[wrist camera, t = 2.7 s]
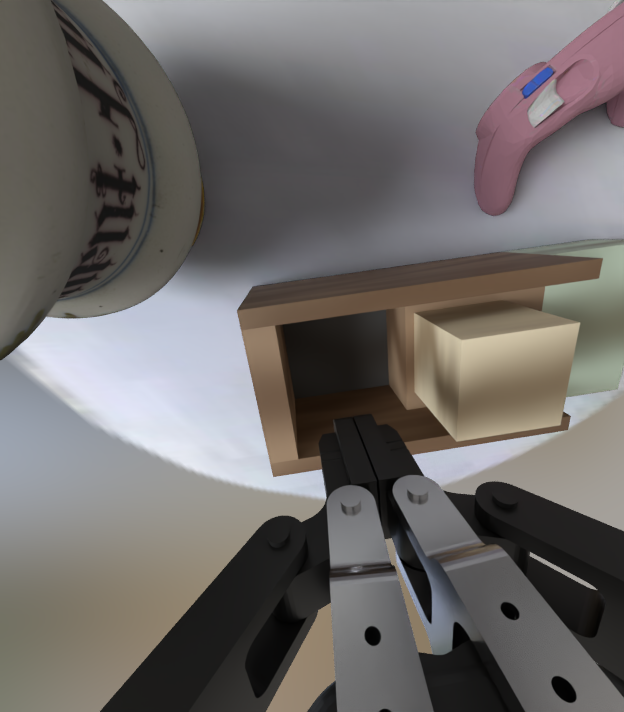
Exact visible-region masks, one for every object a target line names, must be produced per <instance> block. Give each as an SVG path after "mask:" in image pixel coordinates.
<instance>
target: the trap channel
mask: <svg viewBox="0 0 624 712" xmlns="http://www.w3.org/2000/svg"><path fill="white" fill-rule="evenodd" d="M498 300H503V301H507V302H510V303H514V304H517V305H521V306H524V307H528V308H531V309H535V310H538V311H542V312H545V313H549V314H552V315H556V316H559V317H563V318H566V319H570V320H573V321H577V322H580V327H579V332H578V337H577V342H576V347H575V352H574V358H573V363H572V368H571V373H570V378H569V383H568V389H567V394H566V397H571V396H578V395H584V394H591V393H597V392H603V391H610V390H616V389H618V385H619V382H620V378H621V374H622V370H623V366H624V240H582V241H575V242H568V243H561V244H554V245H547V246H540V247H533V248H526V249H518V250H511V251H504V252H497V253H490V254H483V255H476V256H469V257H462V258H455V259H447V260H440V261H433V262H426V263H419V264H412V265H405V266H398V267H391V268H384V269H376V270H369V271H362V272H355V273H348V274H341V275H334V276H327V277H320V278H313V279H305V280H298V281H291V282H284V283H277V284H270V285H263V286H256V287H252V289H251V290H250V292H249V293H248V295H247V296H246V298H245V299H244V301H243V302H242V304H241V305H240V307H239V308H238V310H237V313H238V318H239V322H240V327H241V331H242V336H243V341H244V345H245V350H246V354H247V359H248V363H249V368H250V373H251V377H252V382H253V386H254V391H255V395H256V400H257V405H258V409H259V414H260V418H261V423H262V427H263V432H264V437H265V441H266V446H267V450H268V455H269V459H270V464H271V469H272V473H273V477H276V476H283V475H289V474H295V473H301V472H308V471H314V470H320V469H322V465H321V458H320V452H319V445H318V443H319V441H320V438H321V436H322V434H328V433H334V424H333V419H339V418H345V417H353V416H357V415H364V414H370V413H371V414H372V415H373V417H374V419H375V421H376V423H377V425H383V424H388V425H389V426H391V427H392V428H394V429H395V430H397V432H398V433H399V435H400V437H401V438H402V441H403V442H404V443H405V445H406V447H407V449H408V450H409V452H410V453H411V455H414V454H420V453H427V452H433V451H439V450H445V449H452V448H458V447H464V446H470V445H477V444H483V443H489V442H495V441H502V440H508V439H514V438H521V437H527V436H533V435H539V434H546V433H552V432H558V431H564V430H568V427H569V422H570V417H571V416H570V415H568V414H566V413H565V412H563V414H562V419H561V425H559V426H552V427H546V428H540V429H533V430H527V431H521V432H515V433H508V434H502V435H496V436H489V437H483V438H477V439H471V440H464V441H458V442H456V441H455V439H454V438H453V437H452V436H451V435H450V433H449V432H448V431H447V430H446V429H445V427H444V426H443V425H442V424H441V423H440V422H439V420H438V419H437V418H436V417H435V416H434V414H433V413H432V412H431V411H430V410H429V408H428V407H427V406H426V405H425V404H424V403H423V401H422V400H421V399H420V398H419V397H418V395H417V394H416V393H415V379H414V313H415V312H422V311H429V310H436V309H443V308H450V307H457V306H463V305H470V304H477V303H484V302H491V301H498Z"/></svg>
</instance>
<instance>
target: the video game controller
mask: <svg viewBox="0 0 624 712" xmlns="http://www.w3.org/2000/svg"><path fill="white" fill-rule="evenodd" d="M605 102H607V114H608V117H609V119H610V120H611V123H612V124H613V125H616V126H619V127H624V0H616V1H615V2H614V4H613V5H612V6H611V7H610V8H609V10H608V12H607V14H606V15H605V16H603V17H602V18H601V19H599V20H598V21H597V22H596V23H594V24H593V25H592V26H590V27H589V28H588V29H586V30H585V31H584V32H583V33H581V34H580V35H579V36H578V37H577V38H575V39H574V40H573V41H572V42H571V43H569V44H568V45H567V46H566V47H565V48H564V49H562V50H561V51H560V52H559V53H558V54H557V55H555V56H554V57H553V58H552V59H551V60H550V61H549V62H547V63H546V62H540V63H537V64H535V65H533V66H531V67H530V68H528V69H526V70H525V71H524V72H523V73H521V74H520V75H519V76H518V77H517V78H515V79H514V80H513V81H512V82H511V83H510V84H509V85H508V86H507V87H506V88H505V89H504V90H503V91H502V93H501V94H500V95H499V96H498V97H497V98H496V99H495V100H494V102H493V103H492V104H491V105H490V107H489V108H488V109H487V111H486V112H485V114H484V115H483V117H482V119H481V120H480V122H479V124H478V127H477V129H476V135H477V137H478V140H479V141H478V147H477V153H476V159H475V169H474V188H475V194H476V197H477V201H478V204H479V206H480V208H481V209H482V211H484V212H485V213H487V214H489V215H492V216H496V215H500V214H502V213H504V212H505V211H506V210H507V208H508V207H509V205H510V203H511V202H512V199H513V195H514V192H515V187H516V183H517V179H518V175H519V172H520V169H521V166H522V164H523V162H524V159H525V157H526V155H527V153H528V152H529V151H530V150H531V149H532V148H533V147H534V146H535V145H537V144H538V143H539V142H541V141H542V140H544V139H545V138H547V137H548V136H550V135H551V134H553V133H554V132H556V131H557V130H558V129H560V128H561V127H562V126H564V125H565V124H566V123H568V122H569V121H571V120H572V119H573V118H575V117H576V116H577V115H579V114H581V113H584V112H586V111H588V110H590V109H593V108H595V107H597V106H599V105H601V104H603V103H605Z"/></svg>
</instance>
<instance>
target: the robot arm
mask: <svg viewBox="0 0 624 712" xmlns="http://www.w3.org/2000/svg"><path fill="white" fill-rule="evenodd" d="M333 424H334V433H328V434H322V436H321V438H320V441H319V443H318V445H319V452H320V458H321V465H322V472H323V478H324V485H325V491H326V497H327V498H326V502H325V505H324V507H323V508H322V509H321V510H320V511H319V512H318V513H317V514H316V515H315V516H313V517H311V518H309V519H307V520H305V521H303V522H300V521H299V520H298V519H296V518H294V517H291V516H278V517H275V518H272V519H270V520H268V521H266V522H265V523H264V524H263V525H262V526H261V527H260V528H259V529H258V530H257V531H256V532H255V533H254V534H253V536H252V537H251V538H250V539H249V540H248V541H247V543H246V544H245V545H244V546H243V547H242V548H241V550H240V551H239V552H238V553H237V554H236V555H235V557H234V558H233V559H232V560H231V561H230V562H229V563H228V564H227V566H226V567H225V568H224V569H223V570H222V572H221V573H220V574H219V575H218V576H217V577H216V578H215V579H214V581H213V582H212V583H211V584H210V585H209V586H208V588H207V589H206V590H205V591H204V592H203V593H202V594H201V596H200V597H199V598H198V599H197V600H196V601H195V603H194V604H193V605H192V606H191V607H190V608H189V610H188V611H187V612H186V613H185V614H184V615H183V616H182V617H181V619H180V620H179V621H178V622H177V623H176V624H175V626H174V627H173V628H172V629H171V630H170V631H169V632H168V634H167V635H166V636H165V637H164V638H163V639H162V641H161V642H160V643H159V644H158V645H157V646H156V648H155V649H154V650H153V651H152V652H151V653H150V654H149V656H148V657H147V658H146V659H145V660H144V661H143V662H142V664H141V665H140V666H139V667H138V668H137V669H136V671H135V672H134V673H133V674H132V675H131V676H130V678H129V679H128V680H127V681H126V682H125V683H124V684H123V686H122V687H121V688H120V689H119V690H118V691H117V692H116V694H115V695H114V696H113V697H112V698H111V699H110V701H109V702H108V703H107V704H106V705H105V706H104V707H103V709H102V710H101V711H100V712H266V710H267V708H268V706H269V705H270V703H271V701H272V699H273V697H274V695H275V693H276V691H277V689H278V688H279V686H280V684H281V682H282V680H283V679H284V677H285V674H286V673H287V671H288V669H289V667H290V666H291V663H292V662H293V660H294V658H295V656H296V654H297V652H298V650H299V649H300V647H301V645H302V643H303V641H304V639H305V638H306V636H307V634H308V632H309V630H310V628H311V626H312V625H313V623H314V621H315V619H316V616H317V613H318V610H319V609H321V608H322V607H324V606H326V605H327V604H329V603H331V611H332V629H333V646H334V662H335V679H336V680H335V681H334V682H333V683H332V684H331V685H330V686H328V687H327V688H326V689H325V690H324V691H323V692H322V693H321V694H320V696H319V697H318V698H317V699H316V700H315V702H314V703H313V704H312V706H311V707H310V709H309V710H308V712H624V531H622V530H619V529H617V528H614V527H612V526H610V525H607V524H605V523H602V522H600V521H598V520H595V519H593V518H590V517H588V516H585V515H583V514H581V513H578V512H576V511H573V510H571V509H569V508H566V507H564V506H561V505H559V504H557V503H554V502H552V501H549V500H547V499H545V498H542V497H540V496H537V495H535V494H533V493H530V492H528V491H525V490H523V489H520V488H518V487H516V486H513V485H510V484H507V483H503V482H486V483H483V484H481V485H480V486H479V487H478V488H477V490H476V493H475V495H467V494H456V493H450V492H446V491H443V490H442V489H441V487H440V486H439V485H438V484H437V483H436V482H435V481H433V480H431V479H429V478H427V477H425V476H424V475H423V473H422V472H421V470H420V468H419V467H418V465H417V463H416V462H415V460H414V458H413V457H412V455H411V453H410V452H409V450H408V449H407V447H406V445H405V443H404V442H403V441H402V438H401V437H400V435H399V433H398V432H397V430H395V429H394V428H392V427H391V426H389V425H388V424H383V425H377V423H376V421H375V419H374V417H373V415H372V414H371V413H370V414H364V415H357V416H353V417H345V418H339V419H333ZM388 538H392V540H393V542H394V545H395V548H396V561H397V564H398V567H399V569H400V572H401V574H402V576H403V578H404V581H405V583H406V585H407V588H408V590H409V592H410V595H411V597H412V599H413V601H414V604H415V606H416V608H417V611H418V613H419V615H420V618H421V620H422V622H423V624H424V627H425V629H426V632H427V635H428V638H429V641H430V645H431V649H432V653H433V654H427V653H419V652H418V650H417V647H416V643H415V639H414V635H413V631H412V627H411V624H410V620H409V616H408V612H407V608H406V605H405V601H404V597H403V593H402V590H401V586H400V582H399V578H398V575H397V571H396V569H395V566H394V565H391V561H390V558H389V554H388V550H387V546H386V542H385V539H388ZM530 552H532V553H533V554H535V555H537V556H539V557H541V558H543V559H545V560H547V561H548V562H550V563H552V564H554V565H556V566H558V567H560V568H562V569H563V570H565V571H567V572H569V573H571V574H573V575H575V576H577V577H579V578H580V579H582V580H584V581H586V582H588V583H589V584H591V585H593V586H594V587H595V588H596V589H597V590H594V589H590V588H588V587H586V586H584V585H582V584H580V583H578V582H576V581H575V580H573V579H571V578H569V577H567V576H565V575H563V574H562V573H560V572H558V571H556V570H554V569H552V568H550V567H549V566H547V565H545V564H543V563H541V562H539V561H538V560H536V559H534V558H532V557H530V556H529V555H530ZM594 661H595V662H594ZM597 663H598V664H597Z"/></svg>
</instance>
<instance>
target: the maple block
mask: <svg viewBox="0 0 624 712" xmlns="http://www.w3.org/2000/svg"><path fill="white" fill-rule="evenodd" d="M579 327H580V322H577V321H573V320H570V319H566V318H563V317H559V316H556V315H552V314H549V313H545V312H542V311H538V310H535V309H531V308H528V307H524V306H521V305H517V304H514V303H510V302H507V301H503V300H498V301H491V302H484V303H477V304H470V305H463V306H457V307H450V308H443V309H436V310H429V311H422V312H415V313H414V379H415V393H416V394H417V395H418V397H419V398H420V399H421V400H422V401H423V403H424V404H425V405H426V406H427V407H428V408H429V410H430V411H431V412H432V413H433V414H434V416H435V417H436V418H437V419H438V420H439V422H440V423H441V424H442V425H443V426H444V427H445V429H446V430H447V431H448V432H449V433H450V435H451V436H452V437H453V438H454V439H455V441H456V442H458V441H464V440H471V439H477V438H483V437H489V436H496V435H502V434H508V433H515V432H521V431H527V430H533V429H540V428H546V427H552V426H559V425H561V419H562V414H563V409H564V404H565V399H566V394H567V389H568V383H569V378H570V373H571V368H572V363H573V358H574V352H575V347H576V342H577V337H578V332H579Z"/></svg>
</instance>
